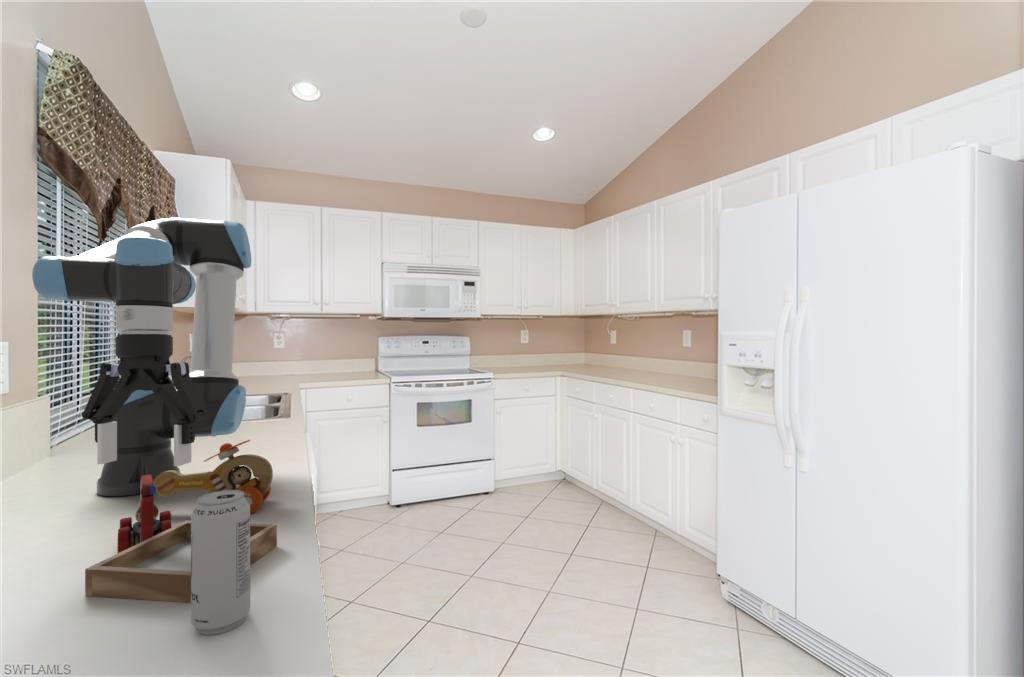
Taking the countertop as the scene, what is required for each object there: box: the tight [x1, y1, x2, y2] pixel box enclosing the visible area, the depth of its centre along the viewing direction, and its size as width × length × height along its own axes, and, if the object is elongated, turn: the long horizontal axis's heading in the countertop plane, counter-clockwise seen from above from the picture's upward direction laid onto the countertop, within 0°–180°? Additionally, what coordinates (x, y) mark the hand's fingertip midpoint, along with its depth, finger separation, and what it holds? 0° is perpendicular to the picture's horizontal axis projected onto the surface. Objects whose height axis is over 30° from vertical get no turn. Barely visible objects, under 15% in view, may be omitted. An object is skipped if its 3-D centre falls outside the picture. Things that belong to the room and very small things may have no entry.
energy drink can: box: [190, 490, 251, 636], centre depth 58 cm, size 6×6×15 cm
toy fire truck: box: [117, 474, 172, 554], centre depth 80 cm, size 7×12×10 cm, turn 37°
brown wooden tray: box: [84, 520, 278, 604], centre depth 71 cm, size 17×16×4 cm
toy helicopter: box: [153, 439, 274, 514], centre depth 95 cm, size 8×21×14 cm, turn 103°
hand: (144, 463), depth 79 cm, fingers open, 13 cm apart
